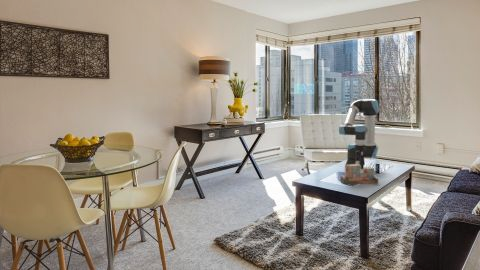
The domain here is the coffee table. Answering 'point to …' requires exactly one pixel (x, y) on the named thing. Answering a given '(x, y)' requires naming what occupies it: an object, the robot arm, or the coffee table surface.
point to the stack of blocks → (358, 173)
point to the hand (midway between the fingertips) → (359, 170)
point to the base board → (360, 181)
